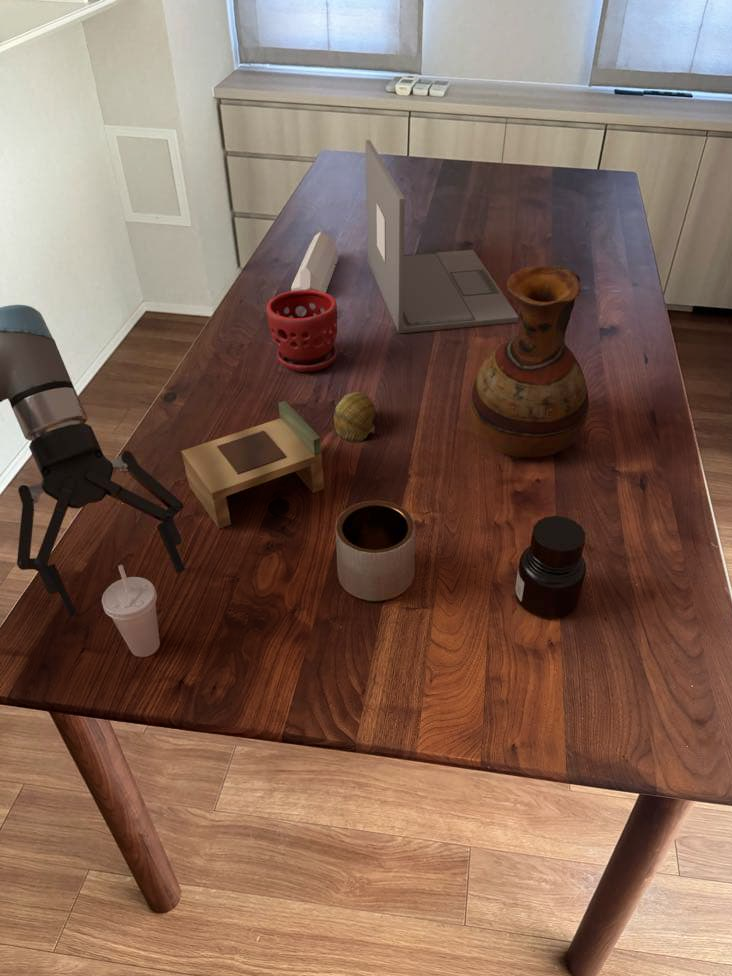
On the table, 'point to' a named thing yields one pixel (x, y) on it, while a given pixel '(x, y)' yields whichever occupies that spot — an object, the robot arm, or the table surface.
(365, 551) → the planter
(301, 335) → the flower pot
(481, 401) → the clay vase
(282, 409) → the small wooden bench
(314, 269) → the white triangular prism
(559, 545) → the ink bottle
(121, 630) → the smoothie
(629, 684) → the table surface
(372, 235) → the laptop
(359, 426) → the seashell
